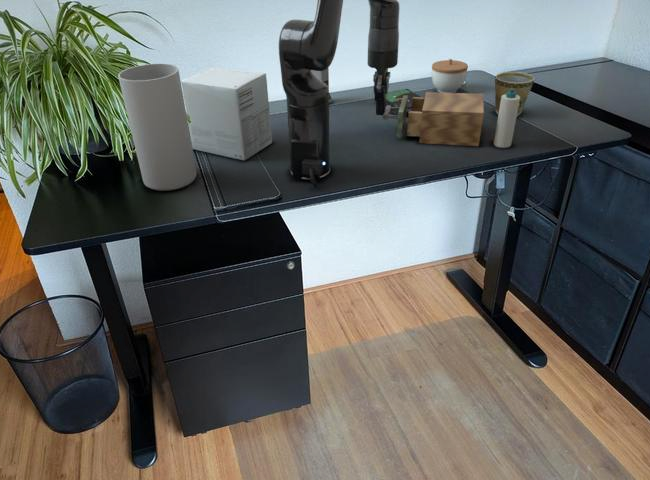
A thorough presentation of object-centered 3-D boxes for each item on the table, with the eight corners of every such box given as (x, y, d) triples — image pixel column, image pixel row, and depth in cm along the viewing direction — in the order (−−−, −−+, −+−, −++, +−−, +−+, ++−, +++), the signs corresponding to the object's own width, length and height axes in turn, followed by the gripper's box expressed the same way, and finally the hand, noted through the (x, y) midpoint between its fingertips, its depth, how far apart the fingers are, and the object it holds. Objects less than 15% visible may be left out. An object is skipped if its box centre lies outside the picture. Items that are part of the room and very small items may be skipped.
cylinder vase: (199, 167, 134) (182, 62, 119) (193, 190, 124) (173, 79, 109) (149, 170, 134) (125, 65, 119) (138, 193, 124) (111, 82, 109)
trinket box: (427, 94, 169) (430, 63, 163) (431, 84, 177) (434, 54, 172) (463, 96, 166) (467, 64, 161) (465, 85, 174) (469, 55, 169)
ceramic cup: (519, 122, 148) (527, 84, 142) (484, 115, 153) (489, 79, 147) (535, 107, 156) (543, 71, 150) (501, 101, 161) (507, 67, 155)
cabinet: (419, 143, 140) (422, 110, 134) (423, 123, 150) (426, 91, 145) (478, 146, 136) (483, 112, 131) (478, 125, 147) (483, 93, 142)
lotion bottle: (511, 148, 134) (522, 92, 126) (493, 147, 135) (503, 91, 127) (510, 141, 138) (521, 86, 130) (493, 140, 139) (502, 86, 131)
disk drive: (431, 112, 157) (407, 97, 168) (432, 103, 155) (407, 87, 167) (399, 118, 154) (376, 102, 166) (399, 108, 153) (376, 92, 164)
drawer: (380, 136, 142) (381, 111, 138) (386, 119, 152) (387, 94, 148) (450, 140, 138) (453, 114, 134) (452, 122, 148) (455, 97, 144)
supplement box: (273, 142, 144) (268, 72, 134) (245, 162, 135) (236, 88, 125) (221, 132, 152) (212, 65, 141) (191, 150, 143) (179, 80, 132)
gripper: (371, 39, 141) (369, 105, 151) (364, 52, 131) (362, 122, 141) (401, 39, 139) (396, 106, 149) (395, 53, 129) (391, 123, 139)
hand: (380, 114), depth 145 cm, fingers closed
